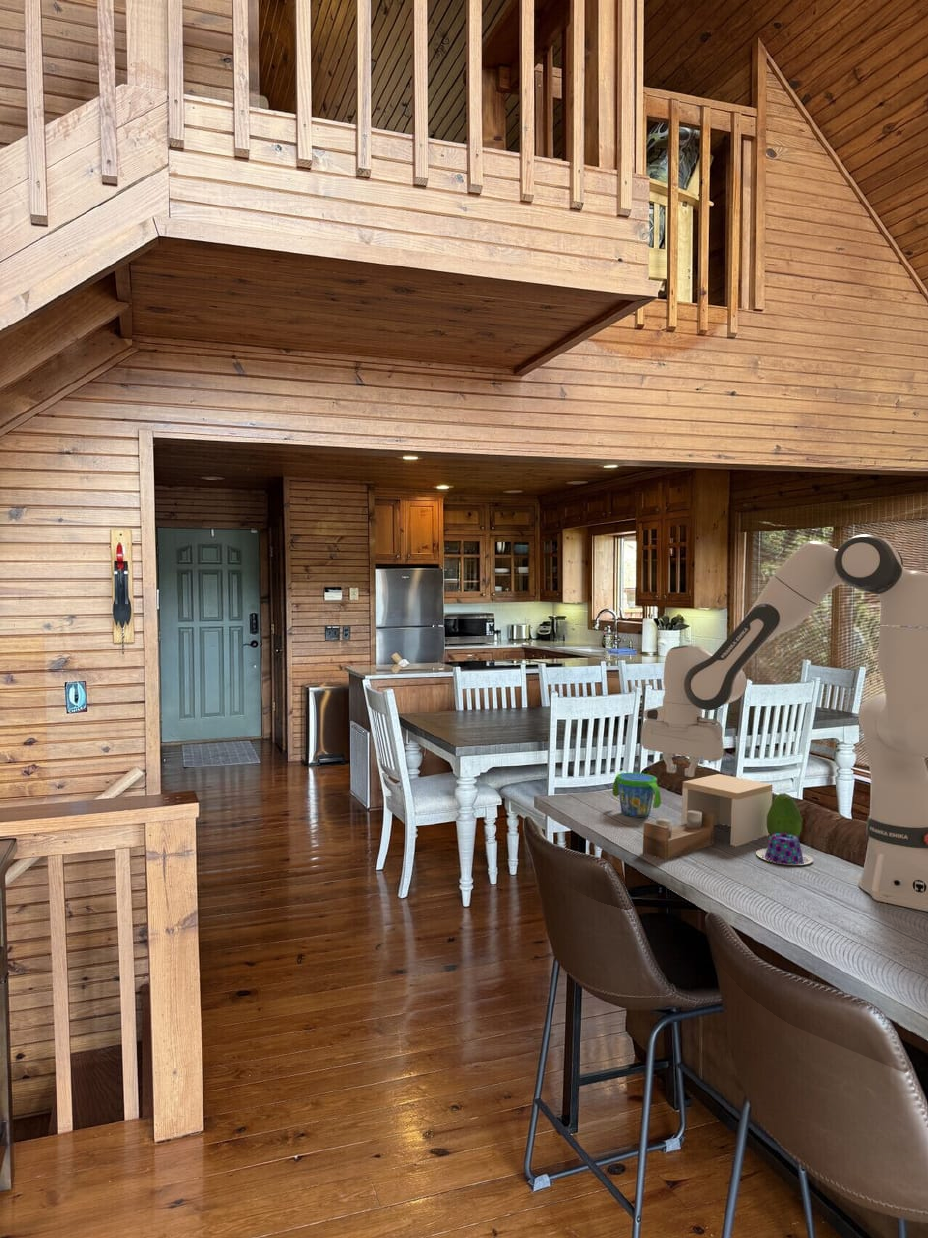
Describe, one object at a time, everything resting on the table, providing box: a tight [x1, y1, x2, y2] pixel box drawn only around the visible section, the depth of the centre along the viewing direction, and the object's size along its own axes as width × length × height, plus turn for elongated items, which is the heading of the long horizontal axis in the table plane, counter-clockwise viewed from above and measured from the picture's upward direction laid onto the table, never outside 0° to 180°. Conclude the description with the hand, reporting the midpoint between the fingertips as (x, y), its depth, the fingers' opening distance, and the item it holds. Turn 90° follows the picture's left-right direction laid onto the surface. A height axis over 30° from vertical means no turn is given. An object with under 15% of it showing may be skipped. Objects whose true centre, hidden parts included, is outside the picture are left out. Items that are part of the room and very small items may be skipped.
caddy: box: [642, 810, 715, 860], centre depth 192 cm, size 6×19×8 cm, turn 131°
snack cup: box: [611, 772, 662, 818], centre depth 222 cm, size 16×10×10 cm
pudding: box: [755, 833, 814, 866], centre depth 186 cm, size 12×12×5 cm
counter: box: [681, 773, 773, 847], centre depth 205 cm, size 15×16×12 cm
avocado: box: [766, 792, 803, 838], centre depth 198 cm, size 8×8×12 cm
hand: (680, 774), depth 191 cm, fingers open, 3 cm apart
